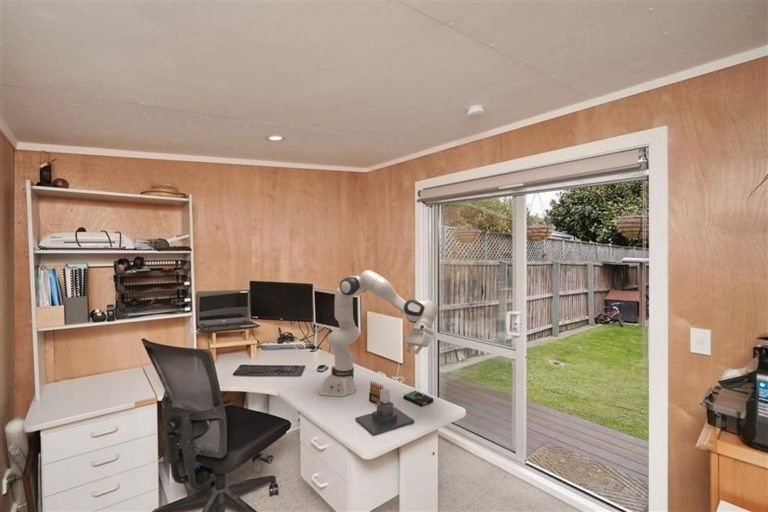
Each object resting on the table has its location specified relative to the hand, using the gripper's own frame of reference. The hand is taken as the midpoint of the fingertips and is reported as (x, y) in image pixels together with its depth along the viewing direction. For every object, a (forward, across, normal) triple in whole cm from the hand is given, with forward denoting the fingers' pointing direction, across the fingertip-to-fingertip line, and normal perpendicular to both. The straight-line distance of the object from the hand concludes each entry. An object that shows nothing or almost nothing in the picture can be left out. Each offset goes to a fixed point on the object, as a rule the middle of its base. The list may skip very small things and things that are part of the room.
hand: (411, 352), depth 197 cm
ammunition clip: (+31, -25, +6) cm, 40 cm away
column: (+35, -3, +3) cm, 35 cm away
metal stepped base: (+36, -4, +3) cm, 37 cm away
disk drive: (+20, -20, +26) cm, 39 cm away
